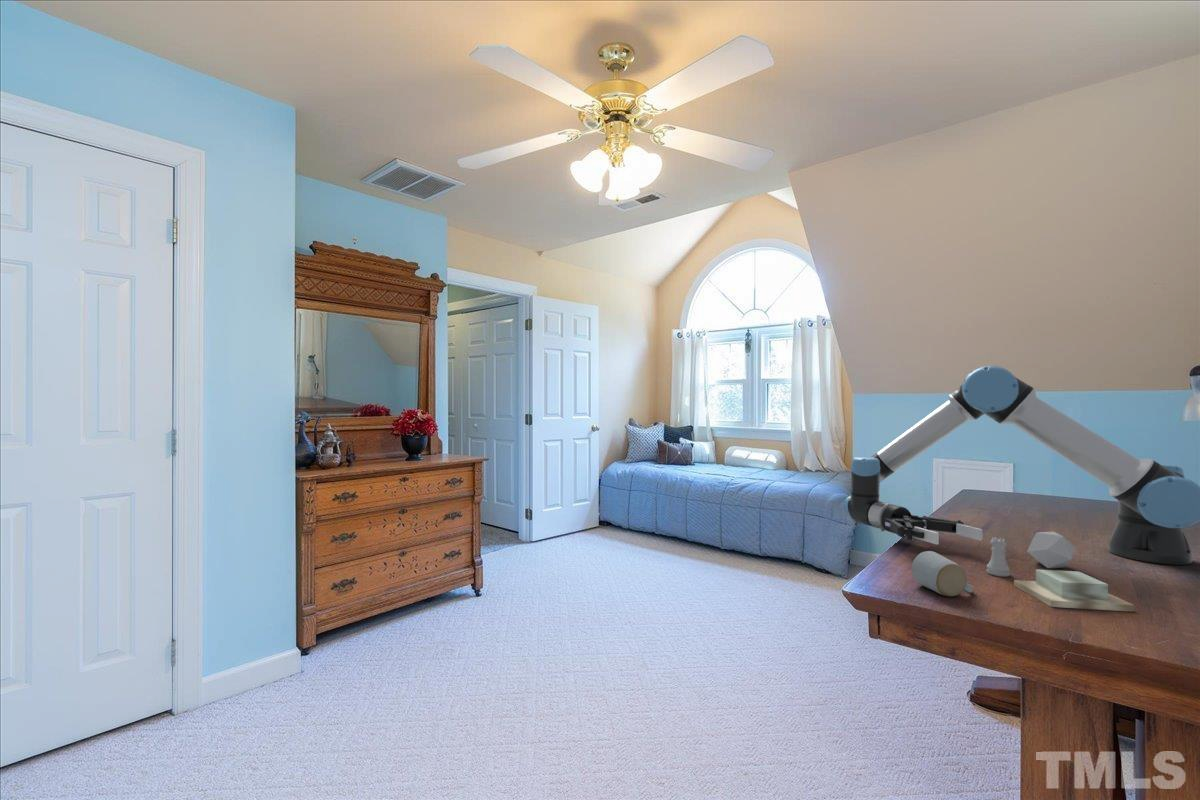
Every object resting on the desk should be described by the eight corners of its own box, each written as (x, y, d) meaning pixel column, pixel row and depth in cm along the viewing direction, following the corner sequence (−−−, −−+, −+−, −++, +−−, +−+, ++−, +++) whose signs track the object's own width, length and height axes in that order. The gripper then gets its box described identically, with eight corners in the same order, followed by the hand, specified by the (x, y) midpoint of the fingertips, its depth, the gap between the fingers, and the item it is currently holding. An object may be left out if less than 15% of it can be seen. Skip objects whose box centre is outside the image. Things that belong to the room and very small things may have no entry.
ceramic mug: (937, 599, 111) (938, 561, 111) (910, 585, 118) (911, 550, 118) (984, 598, 112) (985, 561, 112) (954, 584, 120) (955, 550, 120)
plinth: (1087, 589, 117) (1088, 569, 117) (1133, 611, 105) (1134, 589, 105) (1014, 585, 119) (1014, 565, 119) (1051, 606, 107) (1051, 584, 107)
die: (1081, 576, 128) (1086, 538, 131) (1047, 557, 128) (1054, 520, 131) (1047, 578, 135) (1053, 542, 139) (1016, 560, 135) (1023, 525, 139)
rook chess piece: (989, 575, 125) (989, 539, 125) (983, 570, 130) (984, 535, 130) (1013, 578, 124) (1013, 542, 124) (1007, 572, 128) (1007, 537, 128)
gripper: (926, 528, 160) (998, 548, 140) (853, 534, 153) (918, 556, 132) (926, 502, 160) (998, 518, 139) (853, 506, 153) (918, 524, 132)
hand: (959, 536), depth 136 cm, fingers open, 13 cm apart
